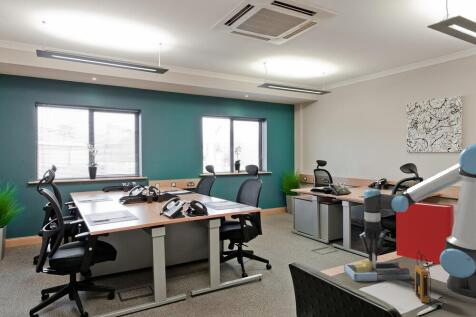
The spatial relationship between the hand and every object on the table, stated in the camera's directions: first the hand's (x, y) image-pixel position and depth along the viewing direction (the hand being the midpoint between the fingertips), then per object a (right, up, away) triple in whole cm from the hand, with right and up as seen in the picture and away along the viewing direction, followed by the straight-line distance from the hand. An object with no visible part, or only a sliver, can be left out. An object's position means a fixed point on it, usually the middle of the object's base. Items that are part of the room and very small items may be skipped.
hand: (373, 267), depth 153 cm
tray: (-7, -4, 0) cm, 8 cm away
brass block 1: (-5, -1, 0) cm, 5 cm away
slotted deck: (+7, -4, 0) cm, 8 cm away
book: (+39, -4, +23) cm, 46 cm away
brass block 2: (-3, -2, 0) cm, 3 cm away
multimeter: (+12, -4, -27) cm, 30 cm away
